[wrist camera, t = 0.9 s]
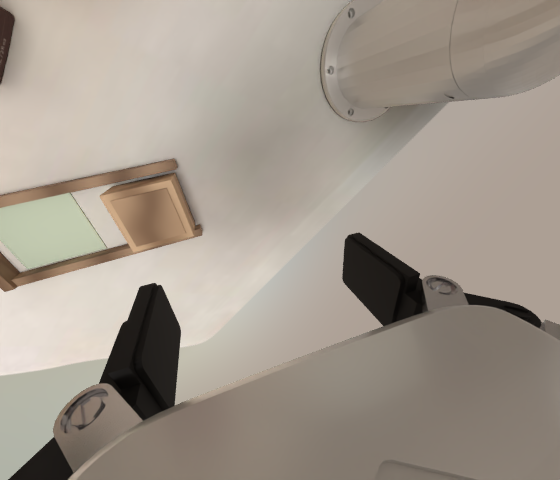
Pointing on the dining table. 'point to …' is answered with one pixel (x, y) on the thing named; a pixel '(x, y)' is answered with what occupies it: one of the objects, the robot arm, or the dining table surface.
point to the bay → (60, 228)
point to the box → (5, 36)
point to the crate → (150, 211)
